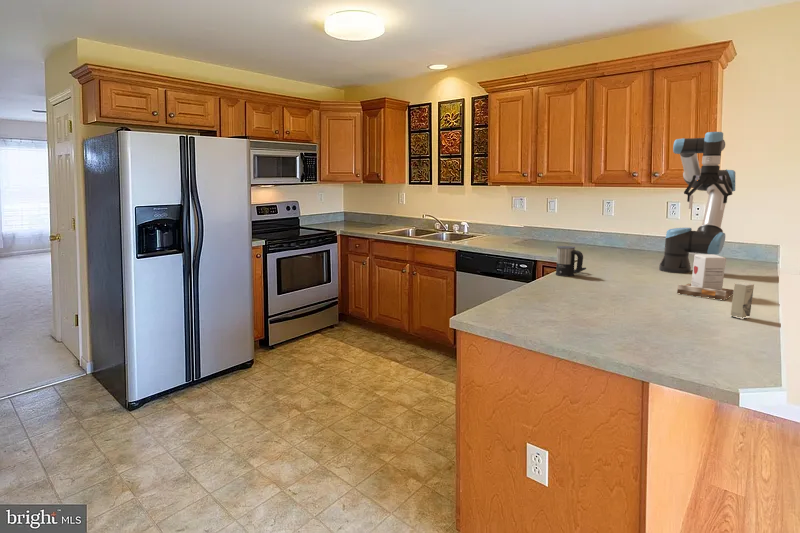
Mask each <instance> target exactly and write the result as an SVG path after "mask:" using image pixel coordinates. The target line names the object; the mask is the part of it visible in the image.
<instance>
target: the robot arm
mask: <svg viewBox="0 0 800 533" xmlns="http://www.w3.org/2000/svg"><path fill="white" fill-rule="evenodd" d="M725 147H726V141H725V140H724V132H723V131H708V132H707V131H706V133H705V134H704V137H691V138H690V137H689V138H685V137H683V138H676V139H675V140H674V141H673V148H672V149H673V150H672V152H673V153H674V154H676V155H679V156H680V161H681V166H682V168H683V172H682V177H683V180H684V183H686V184H687V187H686V188H685V190H684V192H683V194H684V195H687V198H686V199H687V200H686V201H687V202H688V209H689V210H692V209H693V203H694V202H693V200H694V195H693V194H694V193H695V192H696V191H700V192H701V191H702V192H703V191H705V192H706V193H707V195H708V198H707V201H706V205H705V209H704V213H703V214H704V215H703V219H702V223H701V225H700V226H698V227H697V230H692V227H674V228H668V229H667V230H666V233H665V237H664V238H665V242H664V251H663V252H664V253H663V257H662V259H661V261H660V264H659V267H658V269H659V271H662V272H667V273H674V274H675V273H676V274H688V273H691V272H692V265H691V262H690V259H689V255H690V253H691V254H692V253H693V254H714V255H719V254H721V252H722V251H723V249H724V247H725V246H724V245H725V242H726V233H725V232H724V230H723V228H722V227H721V226H722V222H723V218H724V213H725V208H726V204H727V203H728V197H730V196H732V195H733V192H735V191H736V171H735V170H733V169H720V167H721V166H720V164H721V159H722V151H724V149H725ZM698 154H702V160H701V167H700V162H699V158H698ZM697 180H698V181H697Z"/></svg>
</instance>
